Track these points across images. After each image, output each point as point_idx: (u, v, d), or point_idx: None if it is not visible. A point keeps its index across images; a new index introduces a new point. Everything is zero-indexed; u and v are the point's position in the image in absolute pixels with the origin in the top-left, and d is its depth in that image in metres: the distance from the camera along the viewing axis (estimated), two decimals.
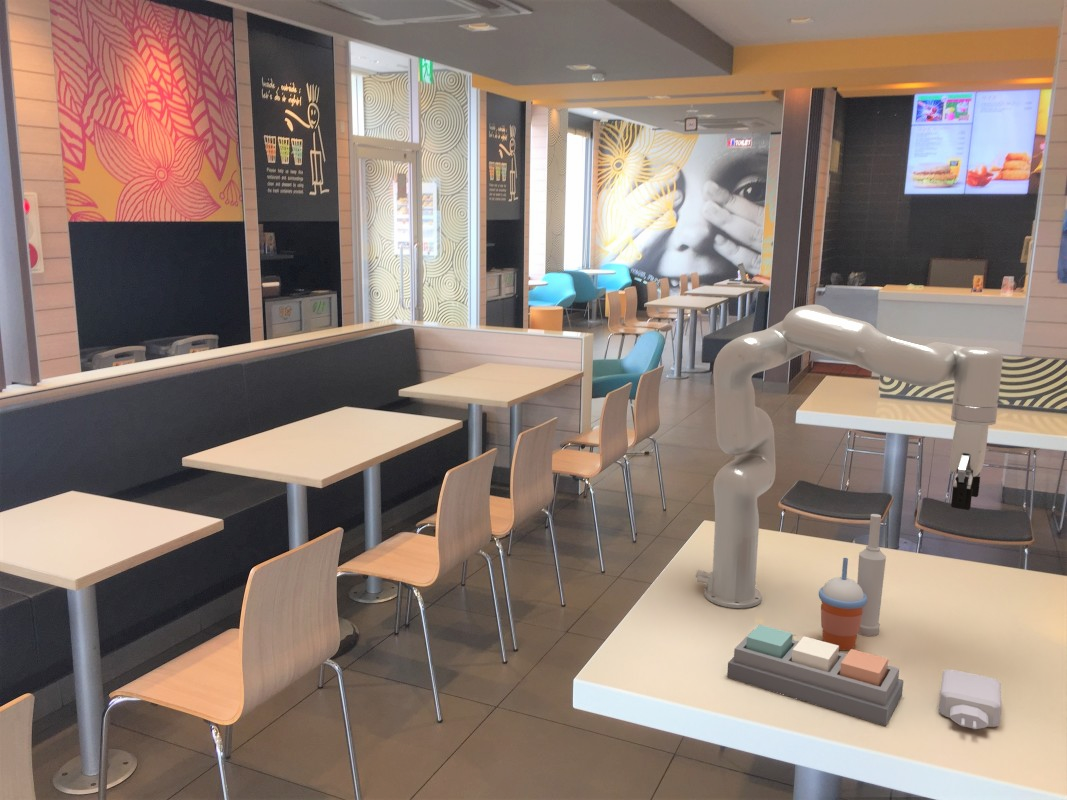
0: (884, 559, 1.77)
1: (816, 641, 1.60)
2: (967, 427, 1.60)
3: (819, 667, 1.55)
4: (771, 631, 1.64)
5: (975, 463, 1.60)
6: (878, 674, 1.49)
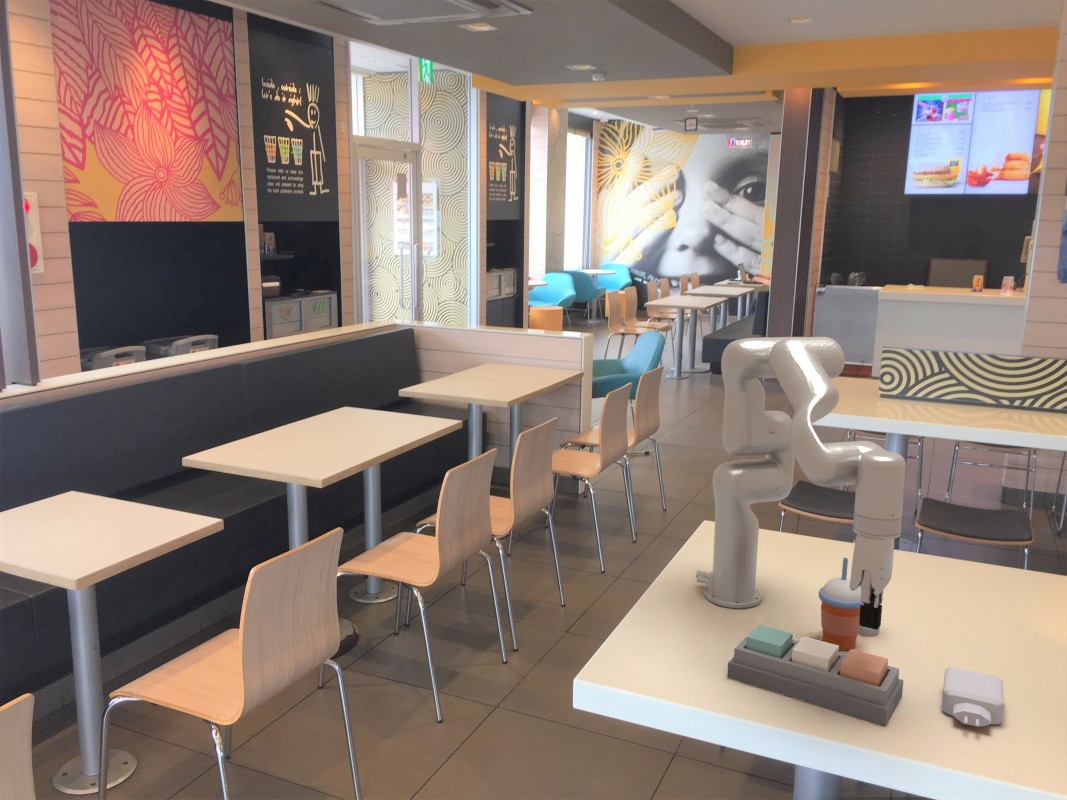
0: None
1: (816, 641, 1.60)
2: (867, 541, 1.45)
3: (819, 667, 1.55)
4: (771, 631, 1.64)
5: (877, 581, 1.45)
6: (878, 674, 1.49)
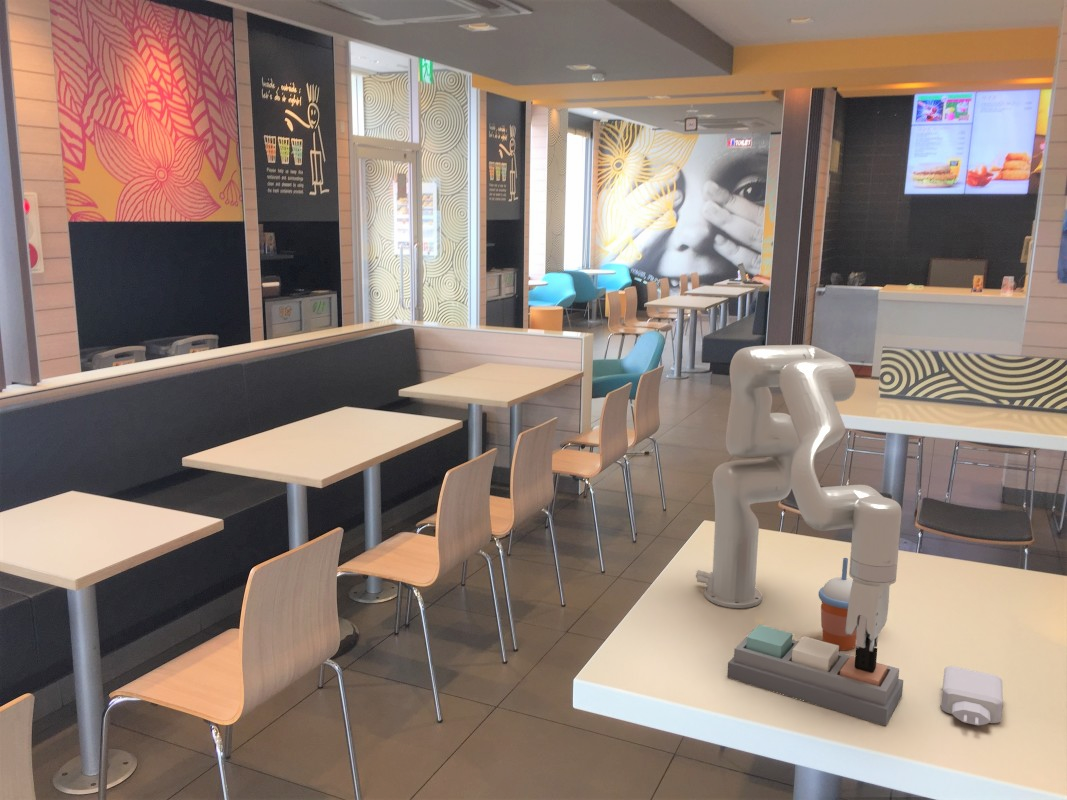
0: None
1: (816, 641, 1.60)
2: (863, 587, 1.47)
3: (819, 667, 1.55)
4: (771, 631, 1.64)
5: (872, 627, 1.47)
6: (877, 682, 1.49)
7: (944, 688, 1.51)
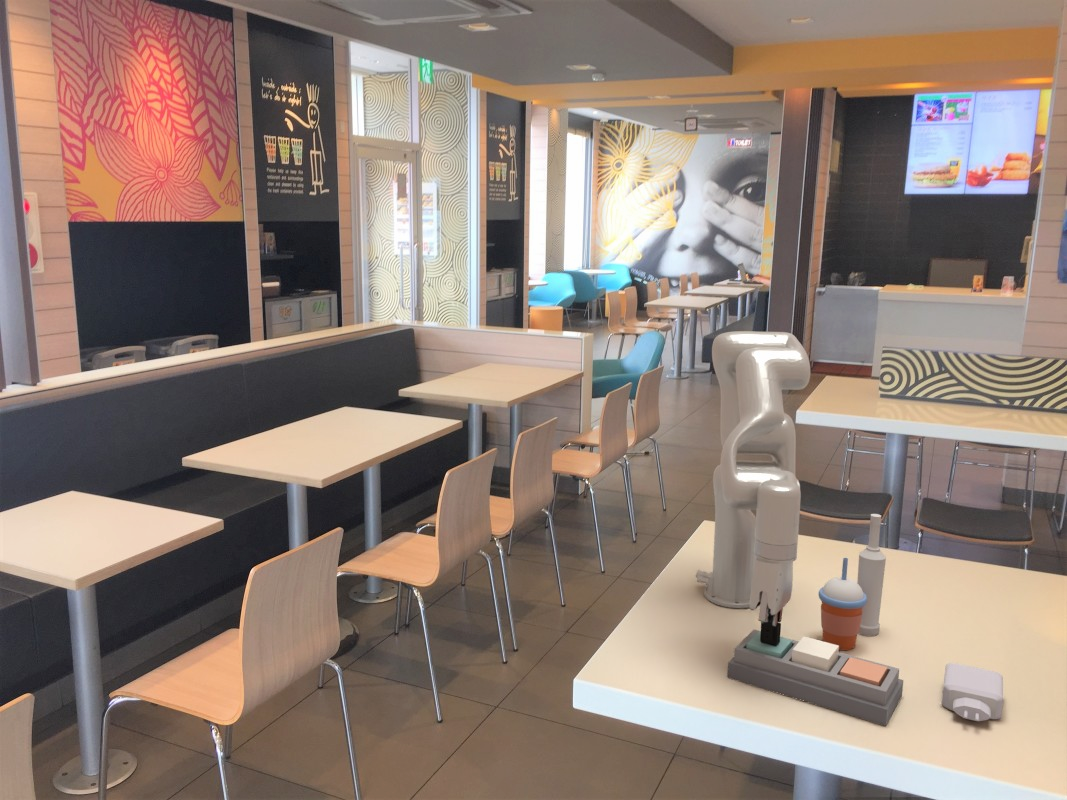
0: (884, 559, 1.77)
1: (816, 641, 1.60)
2: (764, 565, 1.56)
3: (819, 667, 1.55)
4: None
5: (772, 602, 1.56)
6: (877, 683, 1.49)
7: (945, 684, 1.52)
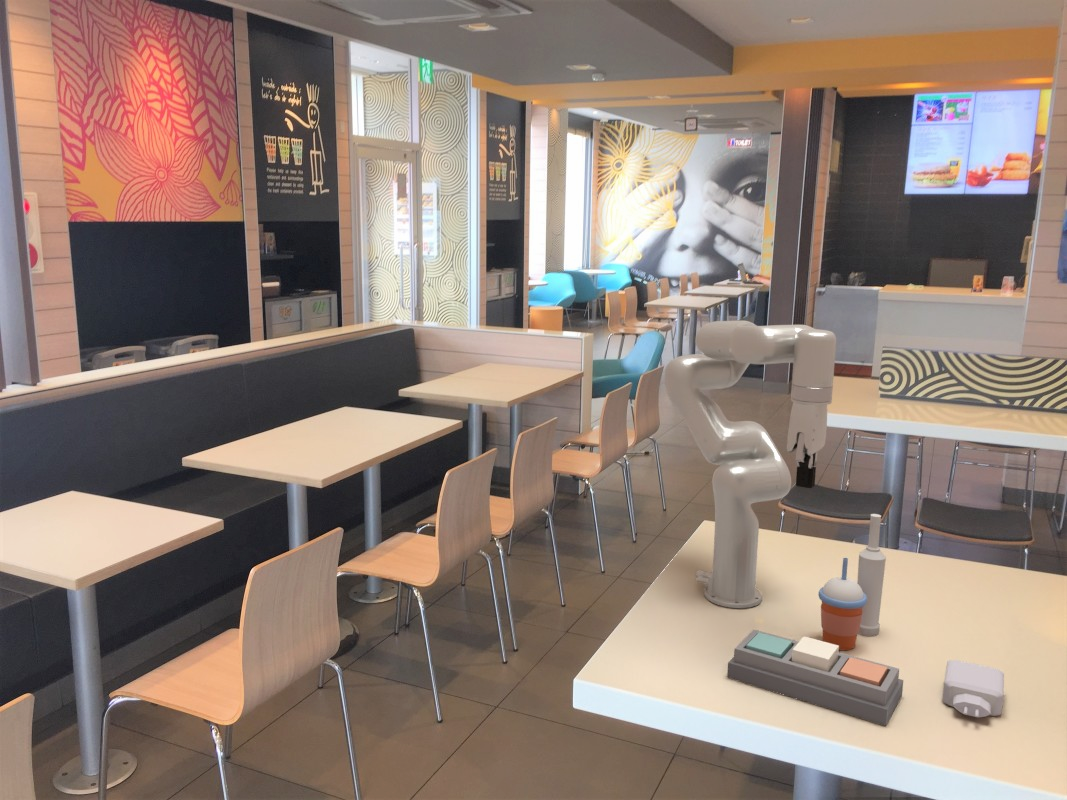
0: (884, 559, 1.77)
1: (816, 641, 1.60)
2: (801, 407, 1.65)
3: (819, 667, 1.55)
4: (770, 639, 1.65)
5: (809, 442, 1.65)
6: (877, 683, 1.49)
7: (946, 681, 1.54)
